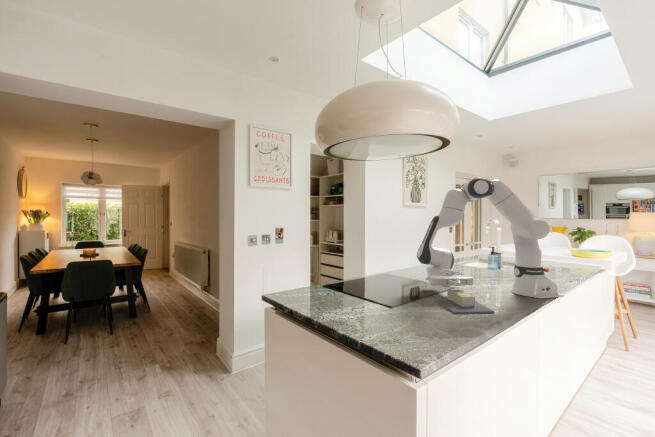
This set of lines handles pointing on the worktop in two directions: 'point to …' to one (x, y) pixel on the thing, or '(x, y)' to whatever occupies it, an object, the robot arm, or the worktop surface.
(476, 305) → the mat
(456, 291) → the skincare box
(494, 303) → the worktop surface
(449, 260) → the robot arm
